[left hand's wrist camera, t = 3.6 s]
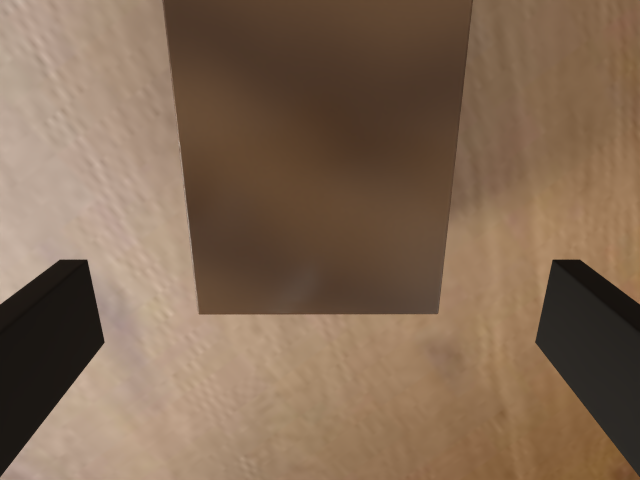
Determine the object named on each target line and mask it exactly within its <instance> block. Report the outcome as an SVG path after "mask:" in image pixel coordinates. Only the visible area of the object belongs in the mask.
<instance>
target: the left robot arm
mask: <svg viewBox="0 0 640 480" xmlns="http://www.w3.org/2000/svg"><path fill="white" fill-rule="evenodd" d="M104 343H105V342H104V337H103V332H102V327H101V323H100V318H99V313H98V308H97V304H96V299H95V294H94V289H93V285H92V280H91V275H90V270H89V266H88V261H87V260H59V261H58V262H56V263H55V264H54V265H52V266H51V267H50V268H48V269H47V270H46V271H44V272H43V273H42V274H40V275H39V276H38V277H36V278H35V279H34V280H32V281H31V282H30V283H28V284H27V285H26V286H24V287H23V288H22V289H20V290H19V291H18V292H16V293H15V294H14V295H12V296H11V297H10V298H8V299H7V300H6V301H4V302H3V303H2V304H0V477H1V475H2V474H3V473H4V472H5V470H6V469H7V468H8V466H9V465H10V464H11V463H12V461H13V460H14V459H15V457H16V456H17V455H18V453H19V452H20V451H21V450H22V448H23V447H24V446H25V444H26V443H27V442H28V441H29V439H30V438H31V437H32V435H33V434H34V433H35V432H36V430H37V429H38V428H39V426H40V425H41V424H42V423H43V421H44V420H45V419H46V417H47V416H48V415H49V414H50V412H51V411H52V410H53V408H54V407H55V406H56V404H57V403H58V402H59V401H60V399H61V398H62V397H63V395H64V394H65V393H66V392H67V390H68V389H69V388H70V386H71V385H72V384H73V383H74V381H75V380H76V379H77V377H78V376H79V375H80V374H81V372H82V371H83V370H84V368H85V367H86V366H87V365H88V363H89V362H90V361H91V359H92V358H93V357H94V355H95V354H96V353H97V352H98V350H99V349H100V348H101V346H102V345H103V344H104ZM535 343H536V344H537V345H538V346H539V348H540V349H541V350H542V352H543V353H544V354H545V355H546V357H547V358H548V359H549V361H550V362H551V363H552V365H553V366H554V367H555V368H556V370H557V371H558V372H559V374H560V375H561V376H562V377H563V379H564V380H565V381H566V383H567V384H568V385H569V386H570V388H571V389H572V390H573V392H574V393H575V394H576V395H577V397H578V398H579V399H580V401H581V402H582V403H583V404H584V406H585V407H586V408H587V410H588V411H589V412H590V414H591V415H592V416H593V417H594V419H595V420H596V421H597V423H598V424H599V425H600V426H601V428H602V429H603V430H604V432H605V433H606V434H607V435H608V437H609V438H610V439H611V441H612V442H613V443H614V444H615V446H616V447H617V448H618V450H619V451H620V452H621V453H622V455H623V456H624V457H625V459H626V460H627V461H628V463H629V464H630V465H631V466H632V468H633V469H634V470H635V472H636V473H637V474H638V475H639V477H640V304H638V303H637V302H636V301H634V300H633V299H632V298H630V297H629V296H628V295H626V294H625V293H624V292H622V291H621V290H620V289H618V288H617V287H616V286H614V285H613V284H612V283H610V282H609V281H608V280H606V279H605V278H604V277H602V276H601V275H600V274H598V273H597V272H596V271H594V270H593V269H592V268H590V267H589V266H588V265H586V264H585V263H584V262H582V261H581V260H553V261H552V266H551V270H550V275H549V280H548V285H547V289H546V294H545V299H544V304H543V308H542V313H541V318H540V323H539V327H538V332H537V337H536V342H535Z"/></svg>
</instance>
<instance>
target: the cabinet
mask: <svg viewBox="0 0 640 480" xmlns="http://www.w3.org/2000/svg"><path fill="white" fill-rule="evenodd" d="M472 3H473V0H163V8H164V17H165V26H166V35H167V44H168V52H169V61H170V70H171V79H172V88H173V96H174V105H175V114H176V123H177V132H178V140H179V149H180V158H181V167H182V176H183V185H184V193H185V202H186V211H187V220H188V229H189V237H190V246H191V255H192V264H193V273H194V281H195V290H196V299H197V308H198V314H438V310H439V301H440V292H441V283H442V274H443V265H444V256H445V247H446V238H447V229H448V220H449V211H450V202H451V193H452V184H453V175H454V166H455V157H456V148H457V139H458V130H459V120H460V111H461V102H462V93H463V84H464V75H465V66H466V57H467V48H468V39H469V30H470V21H471V12H472Z"/></svg>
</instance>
